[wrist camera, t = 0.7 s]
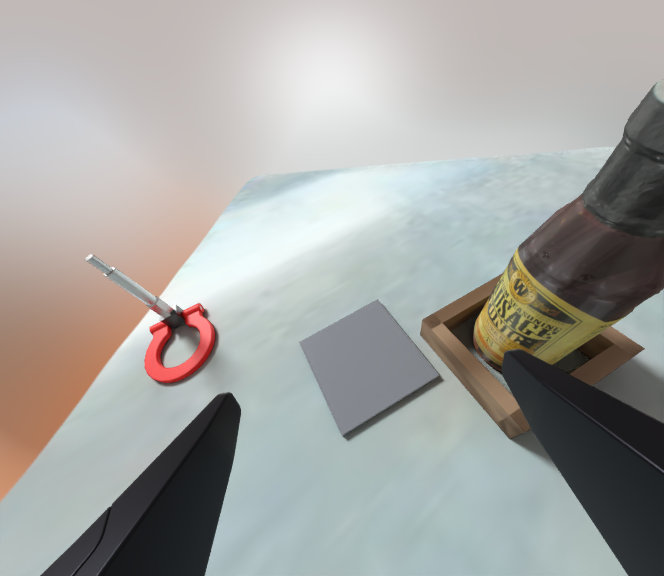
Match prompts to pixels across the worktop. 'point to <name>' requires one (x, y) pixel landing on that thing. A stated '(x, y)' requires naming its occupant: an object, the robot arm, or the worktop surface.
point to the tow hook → (165, 327)
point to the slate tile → (365, 365)
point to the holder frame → (483, 386)
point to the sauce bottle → (586, 254)
